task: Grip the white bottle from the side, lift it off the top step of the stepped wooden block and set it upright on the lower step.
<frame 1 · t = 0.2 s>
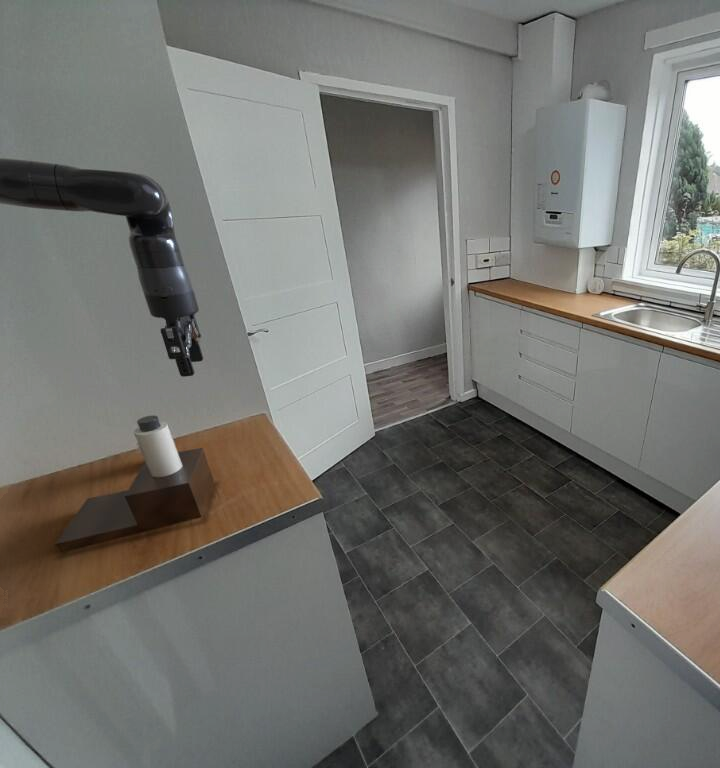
hand: (192, 368, 85), 29 cm above the counter, tool pointing down, fingers open, 8 cm apart
white short tapered cylinder: (164, 463, 104), on the counter
white bottle: (167, 469, 85), point 10 cm above the counter, touching stepped wooden block
stepped wooden block: (147, 515, 86), on the counter
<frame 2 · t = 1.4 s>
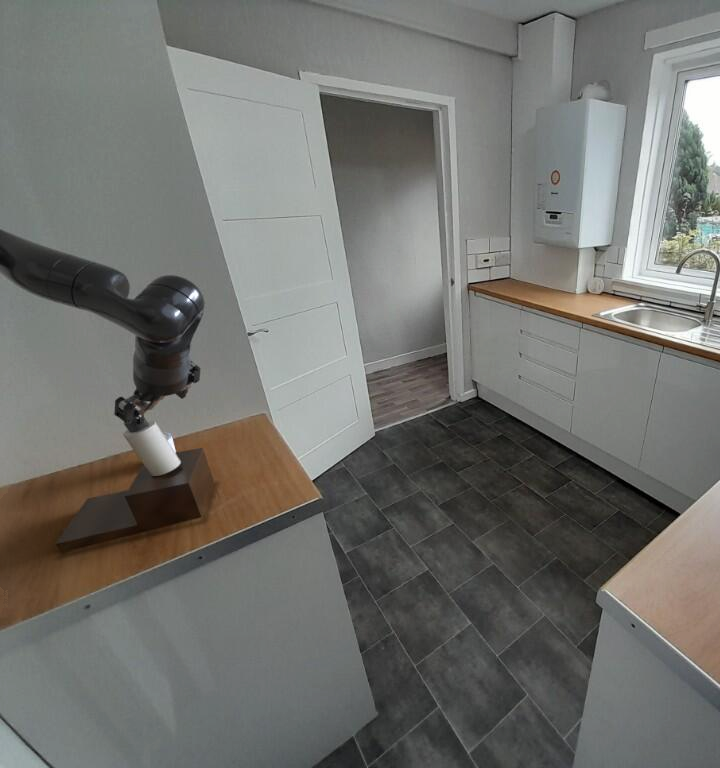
hand: (158, 407, 81), 23 cm above the counter, tool tilted 45°, fingers open, 8 cm apart
white bottle: (166, 468, 85), point 10 cm above the counter, tilted 10°, touching gripper, stepped wooden block
everything else where it was.
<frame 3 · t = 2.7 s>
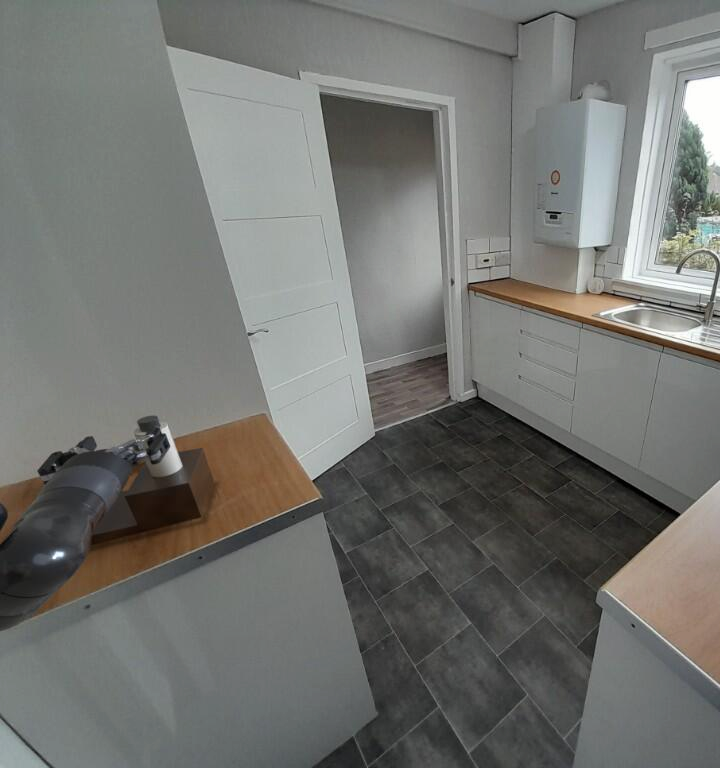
hand: (124, 435, 70), 24 cm above the counter, tool horizontal, fingers open, 8 cm apart
white bottle: (167, 469, 85), point 10 cm above the counter, touching stepped wooden block
everything else where it was.
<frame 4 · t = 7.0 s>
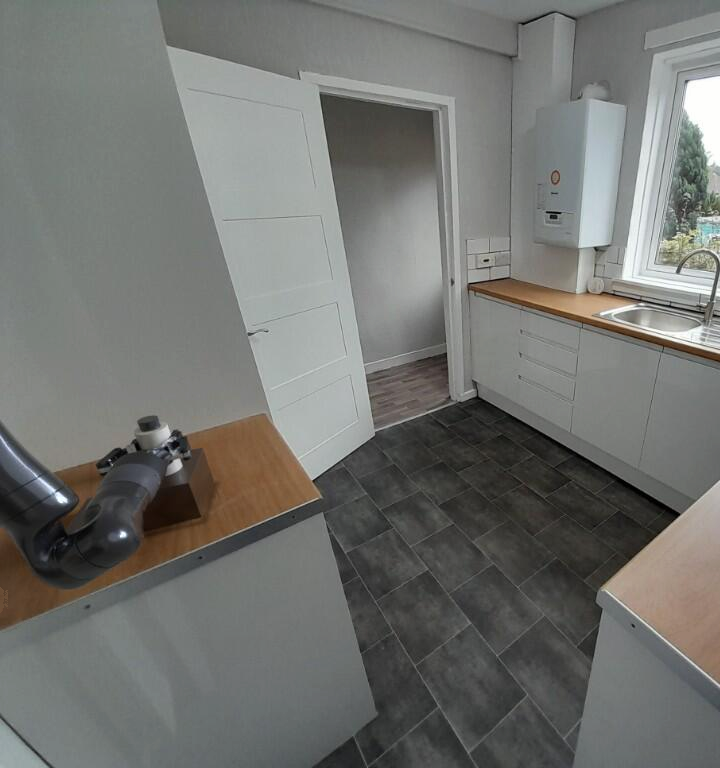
hand: (159, 436, 84), 17 cm above the counter, tool horizontal, fingers closed on white bottle, 5 cm apart
white bottle: (167, 469, 85), point 10 cm above the counter, touching gripper, stepped wooden block
everything else where it was.
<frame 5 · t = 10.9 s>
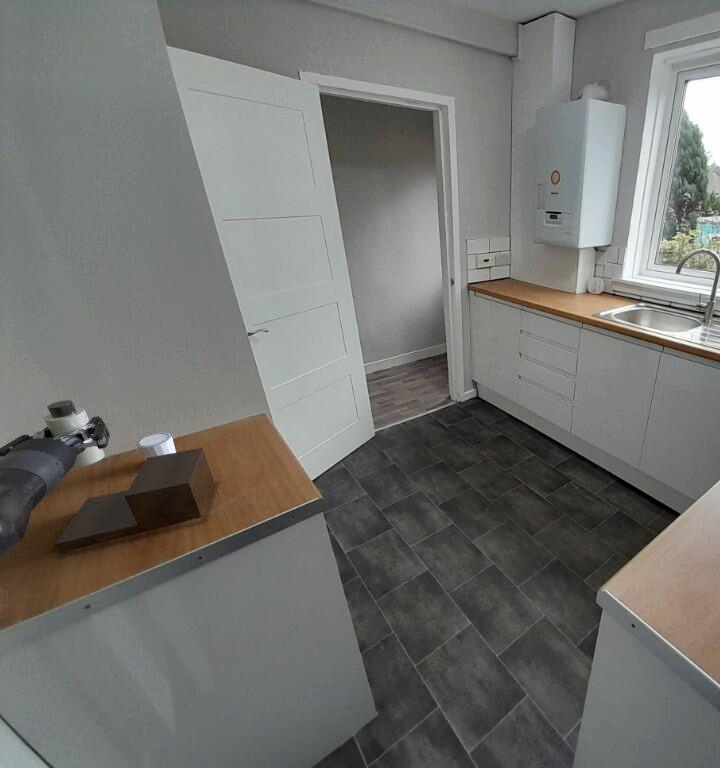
hand: (78, 423, 78), 22 cm above the counter, tool horizontal, fingers closed on white bottle, 5 cm apart
white bottle: (86, 459, 78), point 15 cm above the counter, touching gripper
everything else where it was.
when the fingers open (10 cm above the counter, at t = 14.7 s): white bottle stays where it is, resting on stepped wooden block.
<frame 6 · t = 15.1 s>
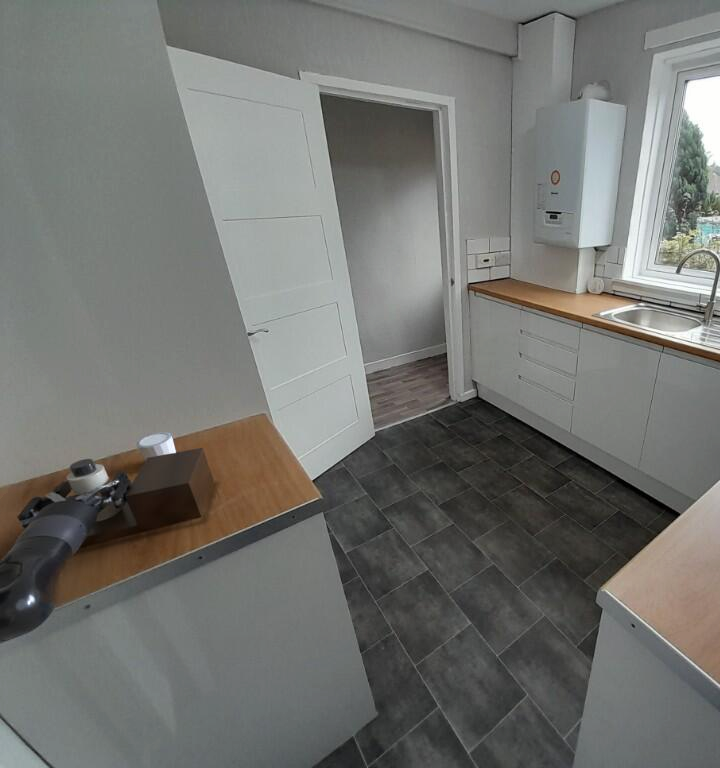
hand: (95, 479, 82), 10 cm above the counter, tool horizontal, fingers open, 8 cm apart
white bottle: (105, 512, 83), point 3 cm above the counter, touching stepped wooden block
everything else where it was.
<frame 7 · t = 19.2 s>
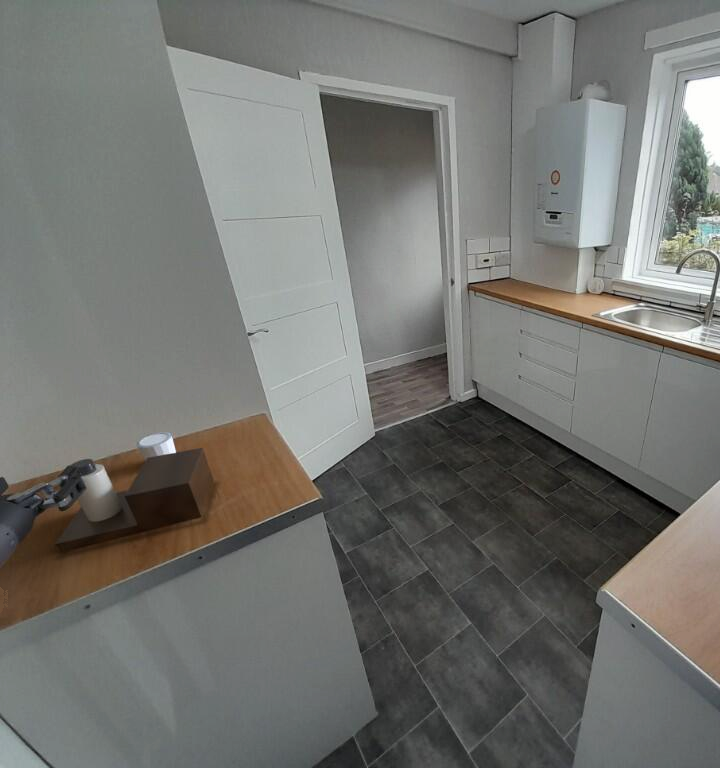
hand: (39, 475, 67), 20 cm above the counter, tool horizontal, fingers open, 8 cm apart
nothing on the counter moved.
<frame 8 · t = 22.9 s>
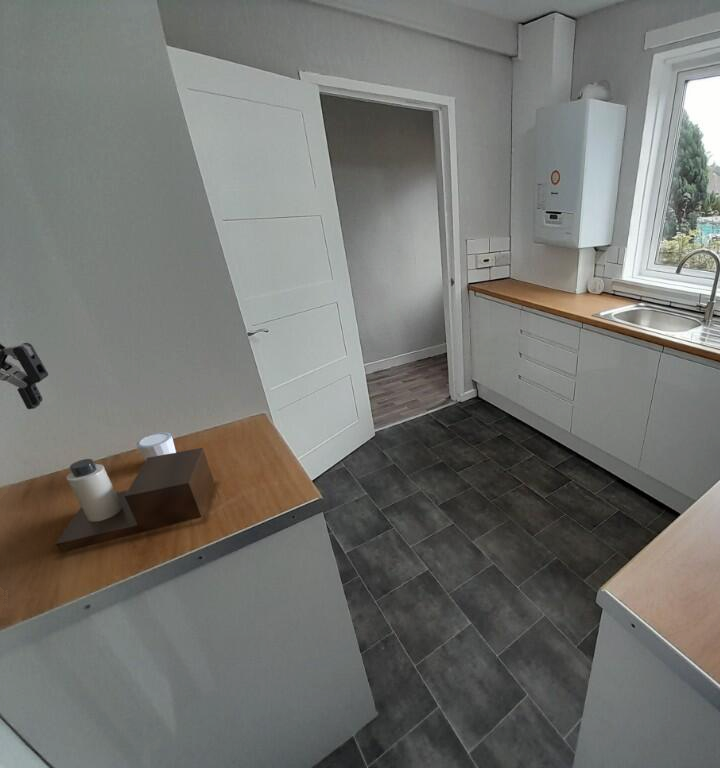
nothing on the counter moved.
at the end: white bottle inside the target area (0.4 cm from its centre), point 3.0 cm above the counter; white bottle tilted 0°; the gripper is holding nothing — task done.
